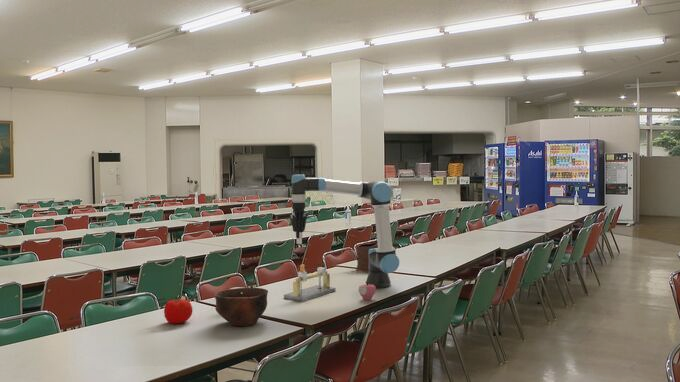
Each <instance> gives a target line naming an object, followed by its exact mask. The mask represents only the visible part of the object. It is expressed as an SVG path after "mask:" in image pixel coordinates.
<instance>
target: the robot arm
mask: <svg viewBox="0 0 680 382" xmlns="http://www.w3.org/2000/svg"><path fill="white" fill-rule="evenodd" d="M306 192H322V193H323V192H324V193H325V192H326V193H332V194H342V195H350V196H351V195H352V196H357V197H358V198H362V199H367V200H370V206H371V207H373V210H374V211H373V212H374V222H375V230H376V231H375V232H376V241H377V242H378V248H374V249H370V250H369V254H368V255H369V272H368V275H367V279H366V281H367V283H368V284H369V285H371V284H372V285H374V286H375V287H376V289H377V288H378V289H379V288H388V287H390V286H391V283H392V281H391V278H390V276H389V274H392V273H395V272H396V271H397V269H399V267H400V258H399V257H398V256H397V252H396V247H394V246H393V239H392V230H391V219H390V209H389V206H390V205H391V202H392V201H391V199H392V196H393V188H392V187H391V185H390V184H389V183H387V182H385V181H375V180H374V181H359V182H353V181H346V180H345V181H344V180H336V179H327V178H325V177H310V176H307V177H306V175H305V174H292V175H291V202H292V203H291V209H292V214H290V215H289V218H290V221H291V226H292V230H293V232H294V233H295V238H296V245H297V244H298V245H302V244H303V232H305V231H306V224H307V218H308V215H309V214H308V213H306V212H305V209H306Z"/></svg>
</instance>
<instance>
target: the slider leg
mask: <svg viewBox="0 0 680 382" xmlns="http://www.w3.org/2000/svg"><path fill="white" fill-rule="evenodd" d="M307 276H308V272H307V271H306V270H305V264H300V265H299V271H298V272H297V277H298V278H301V277H302V281H300V293H302V289H303V287H302V285H303V283H305V282H307V281H308V279H307Z"/></svg>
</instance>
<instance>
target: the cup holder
mask: <svg viewBox="0 0 680 382" xmlns="http://www.w3.org/2000/svg"><path fill="white" fill-rule="evenodd" d="M350 237H353V238H355V239H357V237H356V235H354V234H349V235H348V236H347V238H346V239H347V241H349V238H350ZM355 246H356V251H357V254H356V255H357V256H356V255H355V253H354V252H353V251H352V250H351V249H350V248H349V247H347V250H348V251H349V252H350V253H351V254H352V255H353V256H354V258H356V261H357V265H356V268H355V270H356V271H358V272H366V273H367V272H368V273H369V255H368V254H369V250H370V249H374V248H378V242H377V240H376V241H374V242H373V243H362V244H358V243H355Z"/></svg>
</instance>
